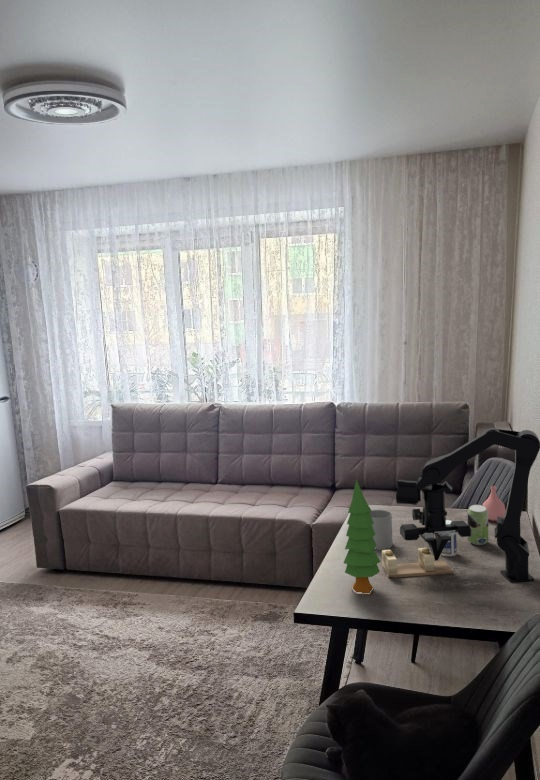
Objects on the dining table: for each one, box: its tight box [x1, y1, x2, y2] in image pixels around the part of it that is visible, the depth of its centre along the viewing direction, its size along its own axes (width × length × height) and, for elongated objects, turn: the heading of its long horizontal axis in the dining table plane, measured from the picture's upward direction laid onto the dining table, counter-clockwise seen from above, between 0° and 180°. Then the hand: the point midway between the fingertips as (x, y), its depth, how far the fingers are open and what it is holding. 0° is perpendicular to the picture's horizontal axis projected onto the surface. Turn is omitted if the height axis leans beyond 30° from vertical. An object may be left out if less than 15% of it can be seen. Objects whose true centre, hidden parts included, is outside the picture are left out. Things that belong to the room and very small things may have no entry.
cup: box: [369, 509, 394, 550], centre depth 180 cm, size 8×8×10 cm
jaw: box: [417, 547, 435, 571], centre depth 159 cm, size 7×2×5 cm, turn 3°
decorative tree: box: [343, 479, 382, 593], centre depth 148 cm, size 10×9×30 cm
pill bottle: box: [440, 519, 458, 557], centre depth 170 cm, size 5×5×10 cm
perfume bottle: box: [482, 485, 506, 522], centre depth 197 cm, size 8×8×12 cm
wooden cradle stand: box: [381, 549, 454, 578], centre depth 159 cm, size 7×18×6 cm, turn 93°
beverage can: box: [466, 504, 489, 546], centre depth 176 cm, size 6×7×12 cm
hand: (436, 559), depth 159 cm, fingers closed
